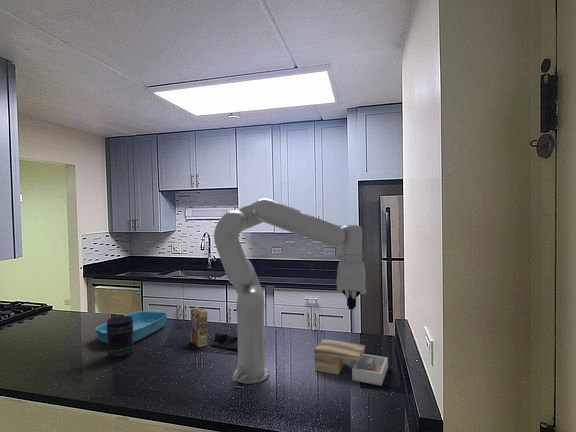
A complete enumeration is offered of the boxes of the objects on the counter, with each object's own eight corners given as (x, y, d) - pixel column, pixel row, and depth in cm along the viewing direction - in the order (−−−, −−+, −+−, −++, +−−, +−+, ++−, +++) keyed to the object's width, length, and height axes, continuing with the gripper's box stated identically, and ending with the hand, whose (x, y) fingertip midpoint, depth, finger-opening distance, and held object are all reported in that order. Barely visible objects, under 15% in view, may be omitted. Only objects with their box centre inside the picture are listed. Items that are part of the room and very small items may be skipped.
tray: (381, 385, 116) (381, 374, 116) (352, 380, 120) (352, 368, 120) (387, 368, 129) (387, 357, 129) (361, 363, 133) (360, 353, 133)
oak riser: (358, 379, 121) (358, 356, 121) (314, 370, 128) (314, 349, 127) (365, 366, 131) (365, 345, 131) (323, 358, 138) (323, 339, 137)
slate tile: (357, 363, 124) (358, 369, 124) (371, 363, 122) (372, 369, 122) (360, 358, 128) (361, 363, 128) (373, 357, 126) (374, 363, 126)
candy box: (208, 345, 153) (207, 311, 153) (199, 347, 150) (198, 312, 150) (199, 339, 160) (199, 306, 160) (190, 342, 157) (190, 308, 157)
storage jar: (123, 361, 137) (122, 324, 137) (101, 359, 139) (100, 322, 139) (138, 351, 147) (138, 316, 147) (118, 349, 149) (117, 315, 149)
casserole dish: (139, 320, 189) (139, 307, 189) (175, 323, 184) (175, 310, 184) (84, 346, 153) (84, 330, 153) (127, 351, 148) (127, 334, 148)
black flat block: (247, 356, 142) (247, 345, 142) (207, 346, 153) (207, 336, 153) (267, 344, 155) (267, 333, 155) (229, 335, 166) (229, 325, 166)
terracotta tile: (364, 369, 123) (364, 374, 123) (379, 371, 121) (379, 377, 121) (367, 363, 127) (367, 368, 127) (381, 366, 125) (381, 371, 125)
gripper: (328, 258, 126) (328, 308, 127) (370, 261, 120) (369, 313, 120) (334, 256, 133) (334, 303, 134) (374, 258, 127) (374, 308, 127)
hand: (351, 308), depth 127 cm, fingers closed
